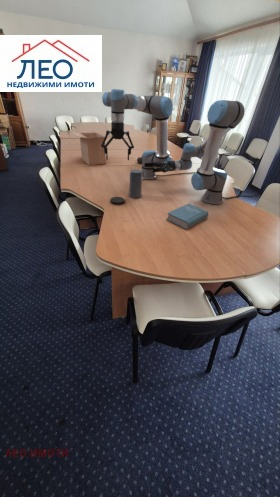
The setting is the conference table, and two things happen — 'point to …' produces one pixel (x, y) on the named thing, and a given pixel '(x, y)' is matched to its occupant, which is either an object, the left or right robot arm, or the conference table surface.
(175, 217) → the book
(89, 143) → the box
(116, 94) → the left robot arm
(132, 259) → the conference table surface
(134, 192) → the jar
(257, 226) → the conference table surface
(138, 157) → the laser sight
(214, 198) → the right robot arm
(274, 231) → the conference table surface
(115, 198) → the lid
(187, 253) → the conference table surface
